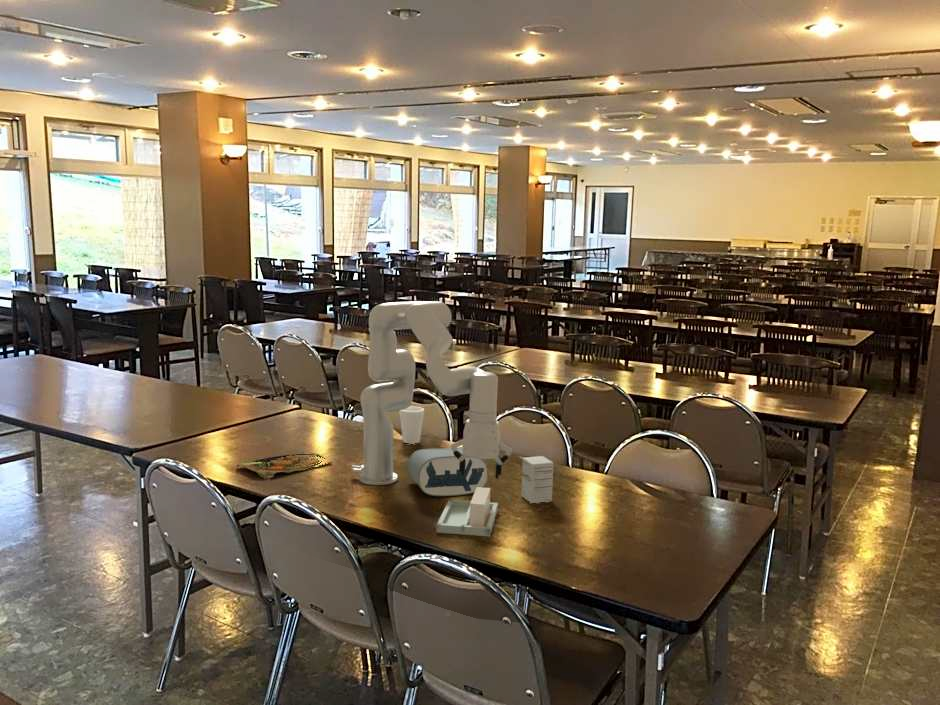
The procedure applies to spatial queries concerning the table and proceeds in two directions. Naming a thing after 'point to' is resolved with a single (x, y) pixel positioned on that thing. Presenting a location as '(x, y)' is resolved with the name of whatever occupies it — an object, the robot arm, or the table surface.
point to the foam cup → (411, 423)
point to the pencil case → (446, 472)
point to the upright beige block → (480, 507)
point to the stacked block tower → (537, 479)
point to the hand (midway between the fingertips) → (480, 475)
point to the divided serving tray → (464, 519)
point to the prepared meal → (278, 464)
